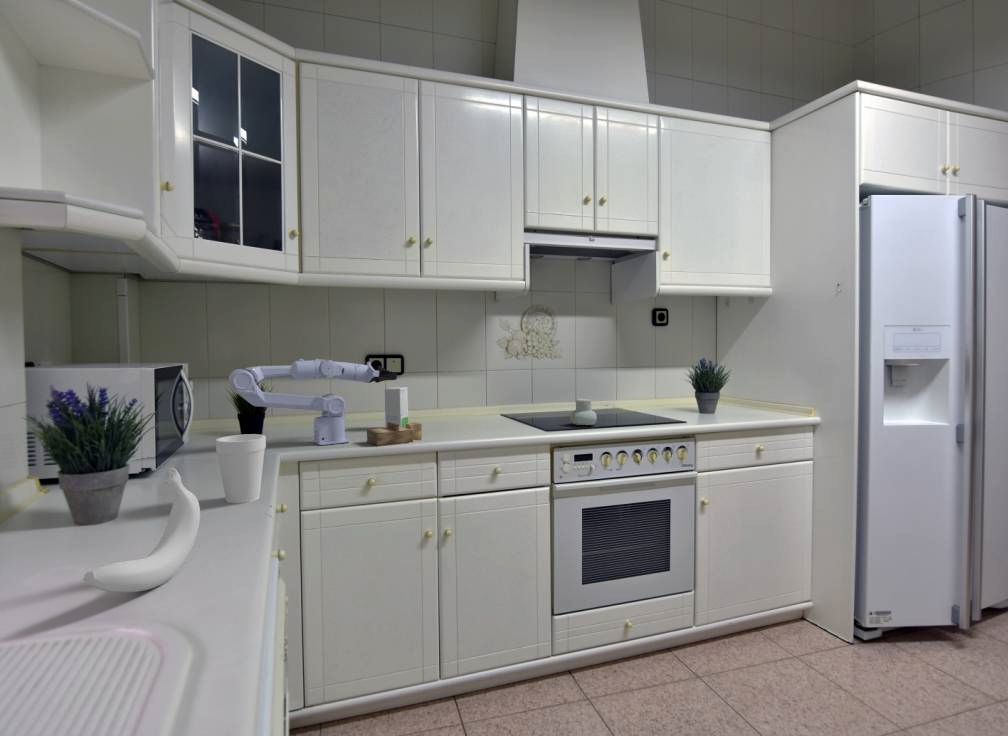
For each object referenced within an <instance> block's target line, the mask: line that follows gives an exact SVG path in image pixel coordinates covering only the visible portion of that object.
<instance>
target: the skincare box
mask: <svg viewBox="0 0 1008 736" xmlns="http://www.w3.org/2000/svg"><path fill="white" fill-rule="evenodd" d="M408 394H409V392H408V386H407V387H405V386H404V387H385V388H384V410H385V411H384V415H385V416H384V417H385V418H384V421H385V422H384V423H385V428H387V422H392V423H396V424H399V426H401V427H405V428H406V423H409V395H408Z"/></svg>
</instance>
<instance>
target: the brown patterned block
mask: <svg viewBox="0 0 1008 736" xmlns="http://www.w3.org/2000/svg"><path fill="white" fill-rule="evenodd" d="M422 426H423V425H422V423H420V422H416V421H414V422H408V423H406V428H408V429H411V430H413V440H417V441H422V440H423V427H422ZM421 439H422V440H421Z"/></svg>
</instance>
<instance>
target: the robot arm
mask: <svg viewBox="0 0 1008 736" xmlns="http://www.w3.org/2000/svg"><path fill="white" fill-rule="evenodd" d="M285 376H292V378H294V379H295V380H303V379H304V380H305V379H317V378H318V377H320V378H325V379H331V378H333V379H334V378H335V379H338V380H343V381H344V380H345V381H352V382H363V383H367V384H370V383H372V382H375V384H376V383H377V384H378V383H381V382H384V381H396V380H397V378H398V373H397V372H393V371H391V370H388V369H385V368H384V367H382V366H381V365H378V366H377V369H376V368H374V367H373V366H372V365H371V361H367V362H366V364H361V363H354V362H345V361H336V360H335V361H334V360H331V359H322V358H321V359H319V358H315V359H312V360H304V359H303V358H299V359H298V360H295V361H293V362H292V364H290V365H257V366H251V367H245V368H243V369H242V368H236V369H234V370H232V371H231V372H230V373H229V376H228V383H229V385H230V386H231V388H232V389H233V391H234V392H235V393H236V394H237V395H239V396H240V397H241V398H243V400H245V401H247V403H249V404H250V405H252V406H253V407H261V408H262V407H263V408H274V409H275V408H276V409H277V408H278V409H292V410H304V411H305V410H309V411H317V412H322V413H321V415H320V416H315V417H314V419H313V435H314V436H313V443H315V444H317V445H319V446H326V445H327V446H328V445H335V444H336V445H337V444H345V443H350V440H348V439H347V438H346V428H345V427H346V426H345V425H346V423H345V422H346V420H345V416H346V415H345V413H344V412H345V410H346V407H347V404H346V403H347V402H346V400H345V399H344V397H342V396H339V395H336V394H333V393H326V394H325V395H308V394H297V393H283V392H273V391H272V392H271V391H262V389H260V387H259V385H257V383H259V382H261V381H262V380H263V379H265V378H271V377H273V378H274V377H285Z"/></svg>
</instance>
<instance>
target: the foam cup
mask: <svg viewBox="0 0 1008 736" xmlns="http://www.w3.org/2000/svg"><path fill="white" fill-rule="evenodd" d="M266 441H267V437H266V435H265V434H259V433H258V434H256V433H255V434H254V433H252V434H251V433H250V434H247V433H246V434H245V433H244V434H235V435H228V436H222V437H218V438H216V439H215V452H216V453H217V457H218V458H217V459H218V463H219V469H220V474H221V475H220V476H221V481H222V486H223V492H224V496H225V499H226V500H225V502H227V503H228V504H247V503H251V502H256V501H257V500H259V498H260V495H261V487H262V486H261V485H262V479H263V478H262V477H263V469H264V468H263V467H264V459H265V450H266V448H267V442H266Z"/></svg>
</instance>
